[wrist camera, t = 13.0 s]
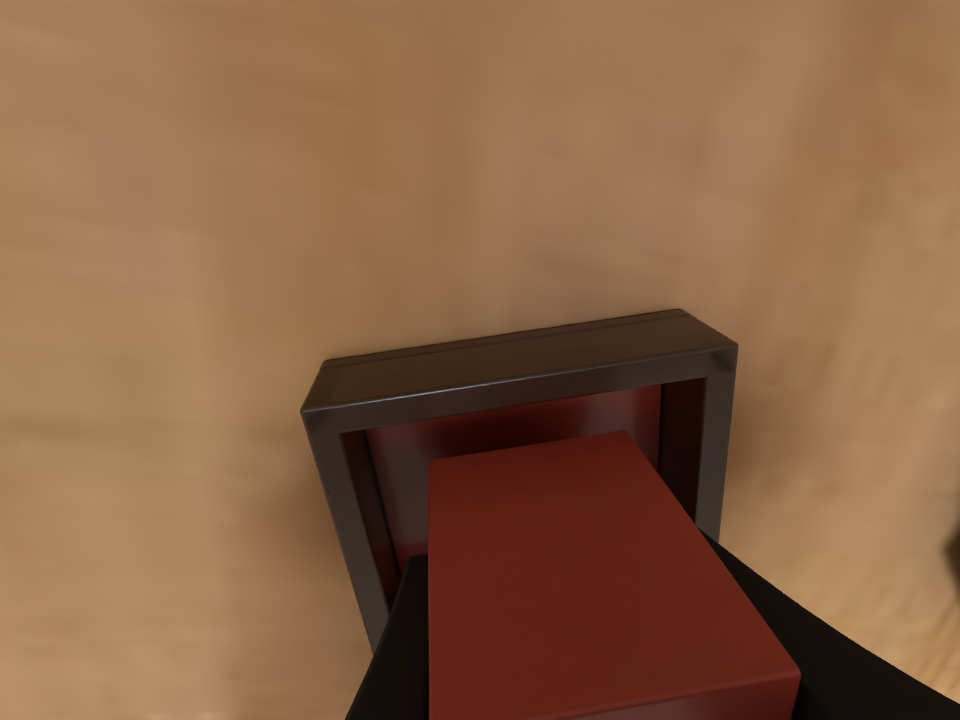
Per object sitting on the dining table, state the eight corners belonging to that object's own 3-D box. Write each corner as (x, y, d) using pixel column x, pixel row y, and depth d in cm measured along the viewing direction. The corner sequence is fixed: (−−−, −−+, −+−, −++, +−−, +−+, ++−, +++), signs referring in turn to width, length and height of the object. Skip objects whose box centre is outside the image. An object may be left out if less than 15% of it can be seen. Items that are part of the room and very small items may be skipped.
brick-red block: (626, 576, 12) (762, 863, 7) (454, 605, 12) (475, 921, 7) (627, 428, 11) (804, 672, 6) (427, 459, 11) (429, 741, 5)
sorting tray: (662, 691, 18) (696, 768, 16) (422, 735, 18) (422, 820, 16) (681, 307, 12) (740, 343, 10) (322, 360, 12) (298, 409, 10)
